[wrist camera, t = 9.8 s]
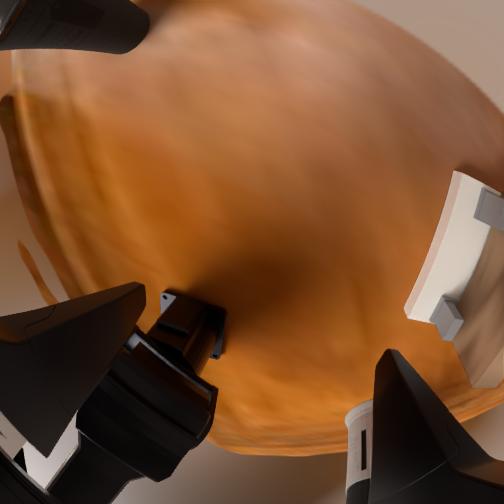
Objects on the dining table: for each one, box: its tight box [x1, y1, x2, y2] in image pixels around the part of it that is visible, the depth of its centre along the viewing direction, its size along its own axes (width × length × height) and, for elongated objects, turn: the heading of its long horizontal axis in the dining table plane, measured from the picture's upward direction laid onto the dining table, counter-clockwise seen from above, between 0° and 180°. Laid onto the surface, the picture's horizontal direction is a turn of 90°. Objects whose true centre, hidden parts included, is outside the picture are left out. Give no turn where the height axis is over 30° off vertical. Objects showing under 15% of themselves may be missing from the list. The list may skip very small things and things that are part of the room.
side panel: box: [404, 170, 504, 341], centre depth 15 cm, size 12×11×4 cm
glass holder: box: [345, 399, 373, 504], centre depth 19 cm, size 9×14×15 cm, turn 25°
